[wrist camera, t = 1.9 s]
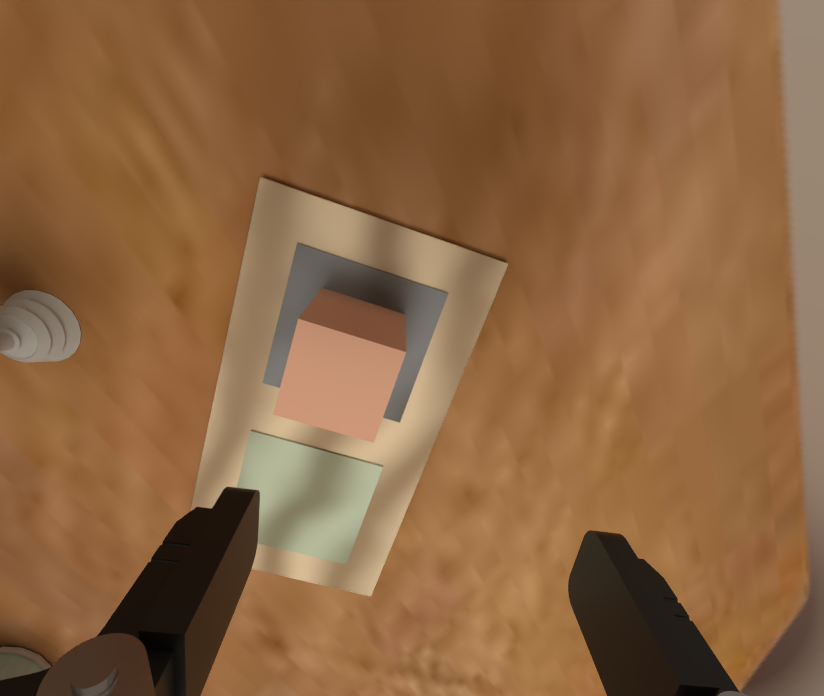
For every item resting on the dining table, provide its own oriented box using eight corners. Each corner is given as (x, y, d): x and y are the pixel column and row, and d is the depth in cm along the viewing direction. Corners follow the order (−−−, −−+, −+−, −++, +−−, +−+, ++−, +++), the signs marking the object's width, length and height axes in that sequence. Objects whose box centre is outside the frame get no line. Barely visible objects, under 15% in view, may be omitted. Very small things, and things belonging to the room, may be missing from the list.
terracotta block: (301, 364, 30) (272, 414, 23) (322, 287, 28) (298, 318, 22) (379, 387, 31) (373, 442, 24) (405, 314, 29) (406, 352, 22)
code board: (185, 546, 36) (180, 554, 35) (263, 177, 27) (259, 177, 26) (371, 590, 38) (370, 598, 37) (506, 262, 29) (509, 264, 28)
